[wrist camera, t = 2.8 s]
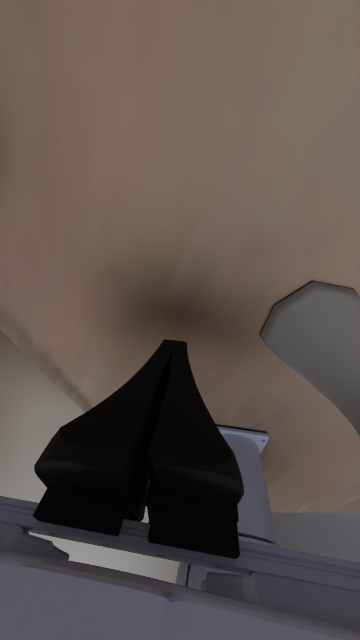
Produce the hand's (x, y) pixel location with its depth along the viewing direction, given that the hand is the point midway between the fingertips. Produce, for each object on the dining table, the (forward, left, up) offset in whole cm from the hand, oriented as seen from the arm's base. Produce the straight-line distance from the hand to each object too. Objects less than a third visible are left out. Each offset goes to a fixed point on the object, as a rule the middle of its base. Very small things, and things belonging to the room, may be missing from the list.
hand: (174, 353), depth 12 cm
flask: (0, -10, -5) cm, 11 cm away
